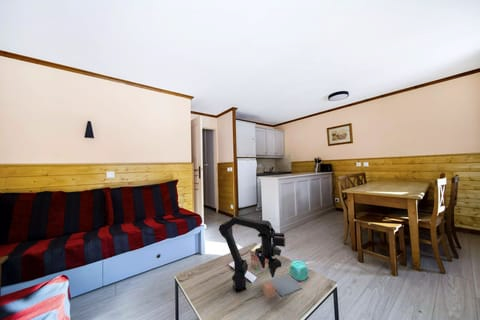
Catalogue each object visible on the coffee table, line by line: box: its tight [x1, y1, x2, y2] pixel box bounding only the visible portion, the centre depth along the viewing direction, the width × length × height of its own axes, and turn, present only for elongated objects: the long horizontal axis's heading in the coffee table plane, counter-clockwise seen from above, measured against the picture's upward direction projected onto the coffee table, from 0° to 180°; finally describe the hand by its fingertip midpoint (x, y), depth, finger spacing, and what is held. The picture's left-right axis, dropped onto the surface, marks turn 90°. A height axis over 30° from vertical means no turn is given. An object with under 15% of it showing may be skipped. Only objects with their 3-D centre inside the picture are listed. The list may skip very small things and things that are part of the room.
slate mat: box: [267, 273, 303, 298], centre depth 104 cm, size 14×14×1 cm
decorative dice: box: [289, 260, 309, 282], centre depth 111 cm, size 8×8×8 cm
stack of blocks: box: [250, 243, 269, 271], centre depth 131 cm, size 21×6×12 cm, turn 144°
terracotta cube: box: [262, 281, 276, 299], centre depth 98 cm, size 5×5×5 cm
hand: (268, 272), depth 98 cm, fingers open, 9 cm apart
